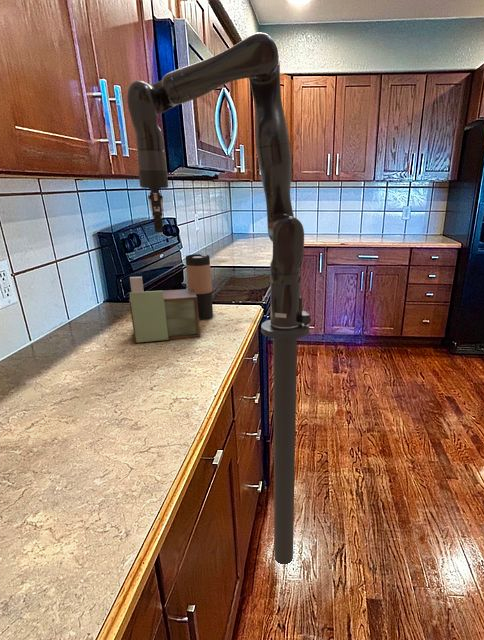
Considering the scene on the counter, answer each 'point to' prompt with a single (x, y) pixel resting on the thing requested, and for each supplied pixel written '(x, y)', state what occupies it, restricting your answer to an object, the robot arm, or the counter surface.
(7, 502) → the counter surface
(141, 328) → the sliding door
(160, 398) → the counter surface
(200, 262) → the travel mug
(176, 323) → the cabinet
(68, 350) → the counter surface
